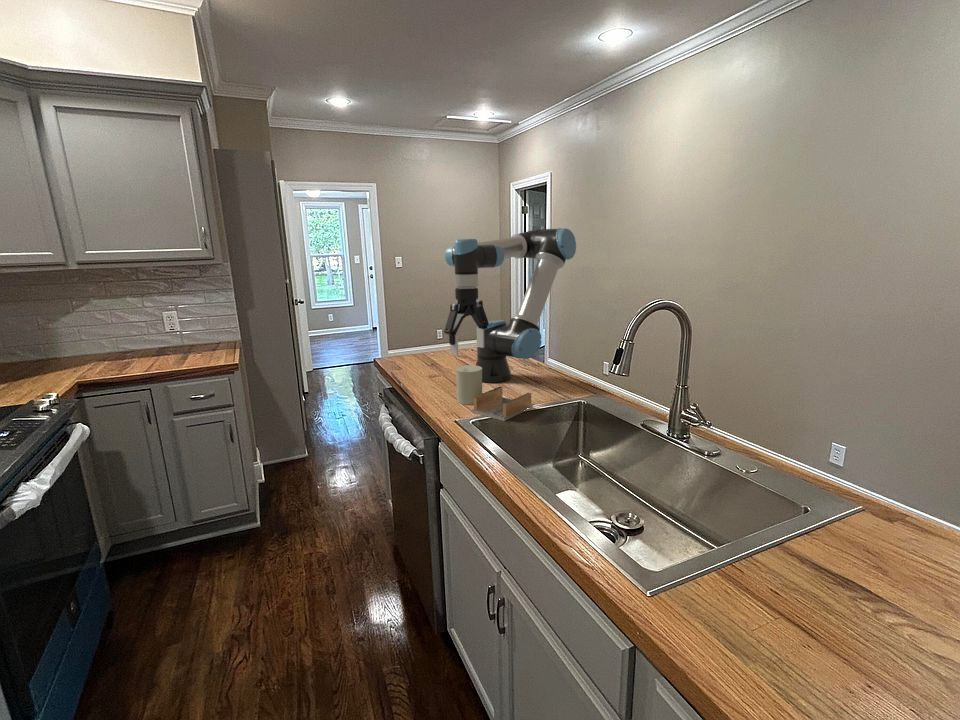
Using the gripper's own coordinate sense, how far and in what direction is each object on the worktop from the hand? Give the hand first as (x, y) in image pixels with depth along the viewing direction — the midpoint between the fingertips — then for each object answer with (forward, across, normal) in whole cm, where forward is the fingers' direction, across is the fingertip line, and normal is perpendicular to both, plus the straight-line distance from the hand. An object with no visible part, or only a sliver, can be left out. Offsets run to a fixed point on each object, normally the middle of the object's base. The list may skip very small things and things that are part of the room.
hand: (467, 350), depth 161 cm
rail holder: (+18, +1, +15) cm, 23 cm away
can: (+18, 0, 0) cm, 18 cm away
